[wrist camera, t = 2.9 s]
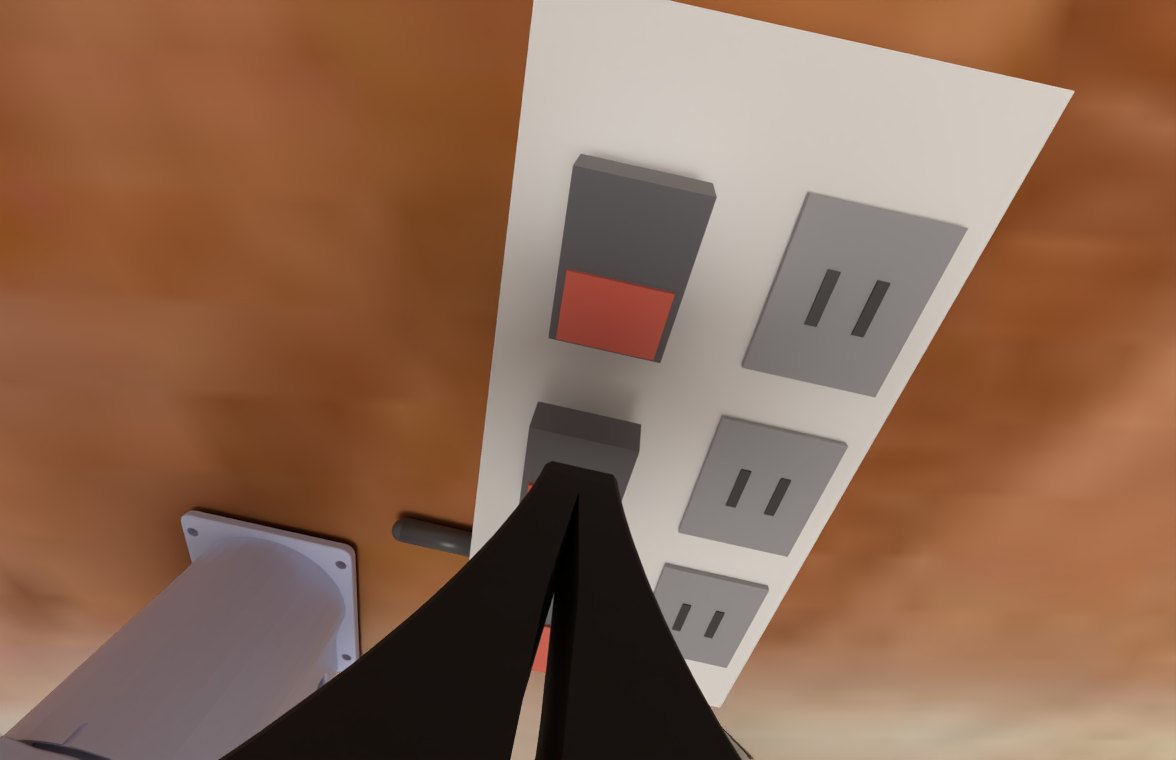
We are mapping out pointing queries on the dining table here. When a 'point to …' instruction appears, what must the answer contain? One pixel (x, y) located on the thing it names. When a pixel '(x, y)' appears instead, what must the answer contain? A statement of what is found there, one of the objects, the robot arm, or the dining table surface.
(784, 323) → the power strip
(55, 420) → the dining table surface
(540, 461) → the rocker middle
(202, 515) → the robot arm
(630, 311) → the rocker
